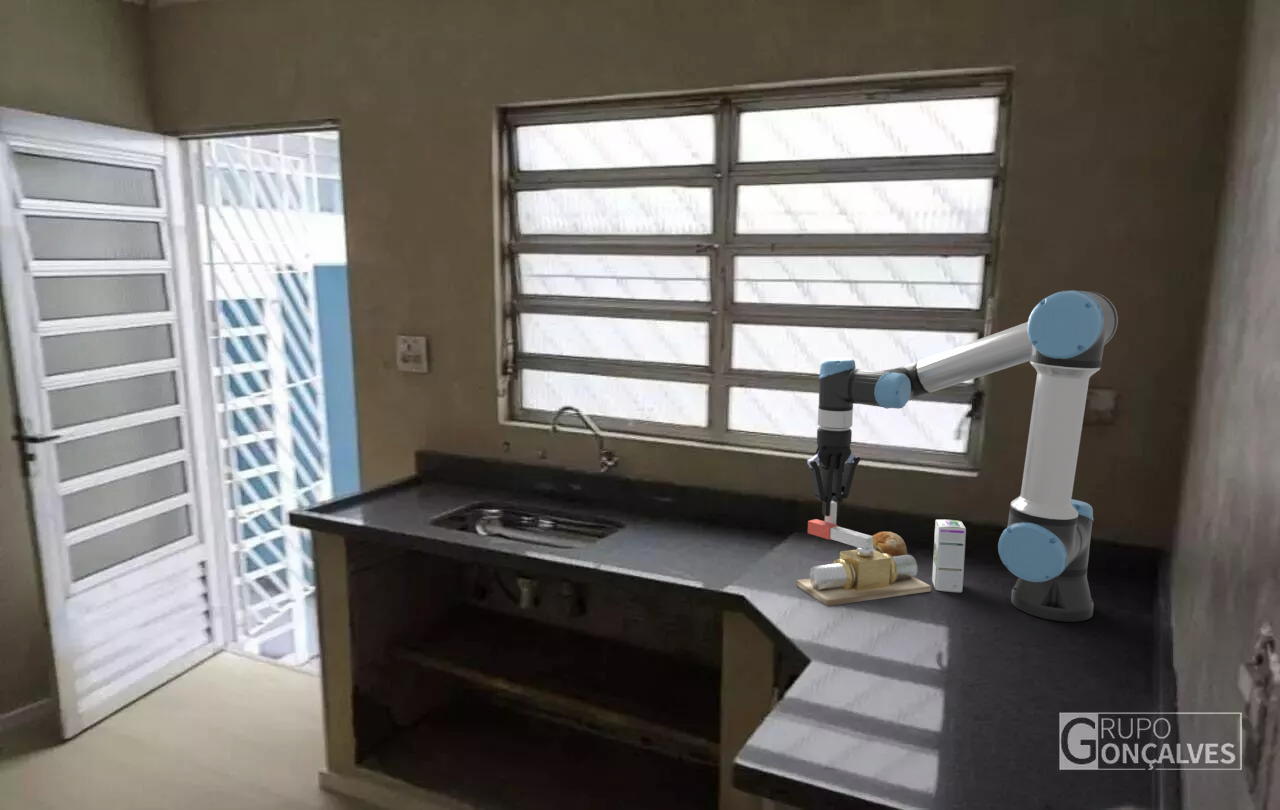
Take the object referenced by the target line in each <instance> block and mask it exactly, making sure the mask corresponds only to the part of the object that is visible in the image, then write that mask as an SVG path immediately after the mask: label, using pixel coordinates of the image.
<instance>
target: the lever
mask: <svg viewBox="0 0 1280 810" xmlns="http://www.w3.org/2000/svg"><path fill="white" fill-rule="evenodd" d="M807 534H809V535H813V536H816V537H819V538H822V539H826V540H830V541H831V540H833V541H834V542H835V541H837V542H840V543H843V544H846V545H848V546H852V547H855V548H856V550H857V554H858V555H860V556H865V557H870V556H873V555H874V547H873V535H870V534H866V533H862V532H859V531H855V530H852V529H849V528H845V527H842V526H839V525H838V524H836V525H835V524H832V523H828V522H825V520H820V519H817V518H815V519H810V520H808V521H807Z"/></svg>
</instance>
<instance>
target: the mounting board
mask: <svg viewBox="0 0 1280 810" xmlns="http://www.w3.org/2000/svg"><path fill="white" fill-rule="evenodd" d="M795 585H796V586H797V587H798V588H800V589H801V590H802V591H804V592H805V593H806V594H808V595H810V596H811V597H813V598H815V599H816V600H817V601H818V602H819V603H822V604H823V605H824V606H826V607H828V606H836V605H843V604H845V605H846V604H850V603H858V602H866V601H873V600H878V599H879V600H880V599H885V598H894V597H900V596H906V595H914V594H922V593H929V592H931V591H932V585H930V584H929V583H926V582H925V581H922V580H921V579H918V578H917V577H916V576H915V577H913V578H905V579H898V580H896V581H895V583H894V584H889V587H883V588H875V589H868V590H861V591H856V590H855V589H853V588H851V589H850V590H845V589H843V588H841V587H838V588H830V589H823V590H816V589H814V588H813V586H812V584H811V581H810V577H809V578H803V579H797V580H796V584H795Z"/></svg>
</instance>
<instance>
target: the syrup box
mask: <svg viewBox="0 0 1280 810" xmlns="http://www.w3.org/2000/svg"><path fill="white" fill-rule="evenodd" d="M966 536H967V528H966V526H965V525H964V524H963V522H962V520H957V519H956V520H955V519H935V525H934V536H933V537H934V542H933V558H932V559H933V560H932V574H931V582H932V585H933V587H934V589H935V590H936V591H938V592H939V591H941V592H946V593H947V592H949V593H962V592H963V584H964V571H965V555H966Z"/></svg>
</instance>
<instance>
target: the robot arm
mask: <svg viewBox="0 0 1280 810" xmlns="http://www.w3.org/2000/svg"><path fill="white" fill-rule="evenodd" d="M1118 323H1119V317H1118V312H1117V309H1116V307H1115V305H1114V304H1113V303H1112V302H1111V301H1110V299H1109V298H1107V297H1106V296H1104V295H1103V294H1101V293H1098V292H1095V291H1092V290H1091V291H1090V290H1074V289H1072V290H1062V291H1057V292H1055V293H1052V294H1051V295H1049V296H1047V297H1045V298H1043V299H1042V300H1040V301H1039V302H1038V304H1036V305H1035V306H1034V308H1033V309H1032V311H1031V313H1030V314H1029V317H1028V320H1027V321H1026V322H1024V323H1020V324H1018V325H1016V326H1012V327H1010V328H1007V329H1004V330H1002V331H998V332H996V333H993V334H990V335H987V336H985V337H982V338H979V339H976V340H973V341H970V342H968V343H966V344H965V343H964V344H962V345H960V346H957V347H954V348H951V349H948V350H946V351H943V352H940V353H937V354H934V355H931V356H928V357H926V358H924V359H920V360H918V361H914V362H911V363H909V364H906V365H903V366H900V367H896V368H889V369H883V370H868V369H859V368H856V360H855V359H852V358H847V357H826V358H824V359H822V360H821V362H820V367H819V375H818V376H819V377H818V380H819V381H818V383H819V384H818V385H819V386H818V410H817V425H818V426H819V427H817V429H816V445H817V447H816V450H815V454H814V455H813V456H812V457H811V458H806V460H805V463H806V465H807V467H808V469H809V473H810V478H811V484H812V489H813V494H814V498H815V499H817V500H819V501H821V503H822V509H821V510H822V511H821V513H822V515H823V516H824V521H825V522H828V523H832V524H835V525H837V516H839V515H840V506H841V505H840V504H842V503H843V502H844V499H848V497H849V494H850V491H851V486H852V483H853V479H854V475H855V471H856V469H857V467H858V465H859V463H860V461H861V457H859V456H857V455H854V454H853V453H852V449H851V445H852V436H853V435H852V434H853V433H852V432H853V431H852V429H851V428H852V427H853V415H854V405H855V404H856V405H857V404H858V405H864V406H872V407H878V408H879V407H880V408H884V409H897V410H898V409H903V408H904V407H906V404H908V402H909V401H911V400H915V399H918V398H920V397H922V396H925V395H928V394H930V393H934V392H936V391H940V390H943V389H946V388H949V387H952V386H956V385H958V384H962V383H964V382H968V381H971V380H974V379H977V378H981V377H984V376H987V375H989V374H992V373H995V372H999V371H1001V370H1005V369H1008V368H1012V367H1014V366H1017V365H1021V364H1024V363H1027V362H1029V364H1031V366H1032V367H1033V368H1034V369H1035V371H1036V373H1037V374H1036V378H1035V379H1036V380H1035V387H1034V395H1033V402H1032V408H1031V416H1030V424H1029V431H1028V437H1027V438H1028V439H1027V446H1026V453H1025V454H1026V455H1025V460H1024V467H1023V468H1024V469H1023V475H1022V483H1021V489H1020V495H1019V496H1018V497H1016V498H1015V499H1013V500H1012V501H1011V502H1010V506H1009V512H1008V513H1009V514H1008V521H1007V527H1006V528H1005V529H1004V530H1003V531H1002V533H1001V534H1000V537H999V538H998V539H999V540H998V543H997V550H998V555H999V558H1000V560H1001V562H1002V564H1003V565H1004V566H1005V568H1006V569H1007V570H1008V571H1009V572H1010V573H1011V574H1012V575H1014V576H1016V577H1017V579H1016V581H1015V584H1014V586H1013V587H1012V589H1011V597H1010V601H1011V604H1012V605H1013V606H1014V607H1015V608H1016V609H1018V610H1019V611H1022V612H1024V613H1026V614H1029V615H1031V616H1034V617H1038V618H1041V619H1045V620H1050V621H1056V622H1057V621H1058V622H1067V623H1068V622H1069V623H1070V622H1072V623H1073V622H1082V621H1086V620H1089V619H1091V618H1092V617H1093V614H1094V605H1095V604H1094V601H1093V599H1092V597H1091V596H1092V595H1091V591H1090V586H1089V581H1088V578H1087V577H1088V576H1087V575H1088V565H1089V564H1088V563H1089V557H1090V546H1091V538H1092V537H1091V536H1092V530H1093V529H1092V527H1093V522H1094V520H1095V519H1094V510H1093V507H1092V505H1090V504H1089V503H1088V502H1084V501H1082V500H1078V499H1072V497H1073V490H1074V483H1075V478H1076V477H1075V476H1076V470H1077V462H1078V457H1079V450H1080V449H1079V448H1080V443H1081V437H1082V436H1081V435H1082V430H1083V423H1084V416H1085V409H1086V403H1087V396H1088V388H1089V384H1090V383H1089V382H1090V378H1091V377H1092V376H1093V375H1094V374H1096V373H1097V372H1099V371H1100V370H1101V367H1102V359H1103V354H1104V347H1105V345H1107V344H1108V343H1109V342H1110V341H1111V340H1112V338H1113V337H1114V336H1115V333H1116V331H1117V328H1118ZM819 466H821V470H820V467H819ZM821 472H822V474H821Z"/></svg>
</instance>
